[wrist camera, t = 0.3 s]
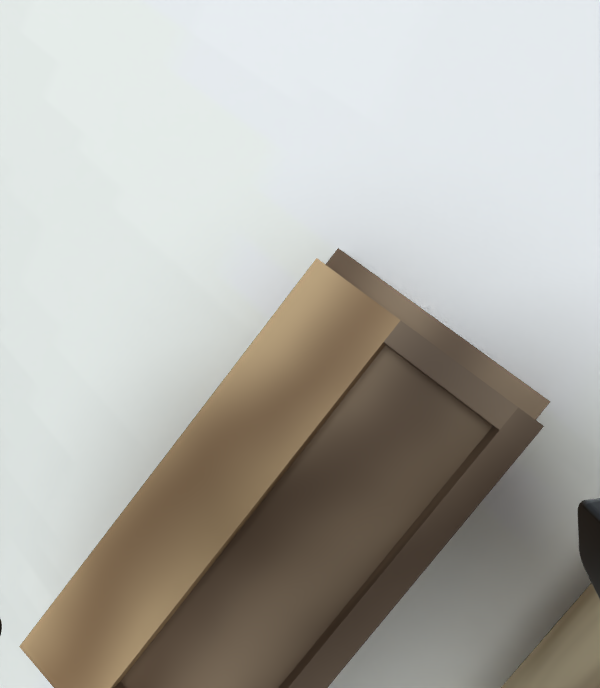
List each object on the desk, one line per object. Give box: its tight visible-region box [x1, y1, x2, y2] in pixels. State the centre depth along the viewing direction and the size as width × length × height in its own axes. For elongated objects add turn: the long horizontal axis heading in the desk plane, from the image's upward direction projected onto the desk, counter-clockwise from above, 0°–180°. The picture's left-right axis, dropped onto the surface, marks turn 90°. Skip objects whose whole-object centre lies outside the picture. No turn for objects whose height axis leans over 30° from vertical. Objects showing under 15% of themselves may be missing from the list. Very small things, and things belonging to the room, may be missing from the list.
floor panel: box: [19, 248, 550, 688], centre depth 19 cm, size 10×22×2 cm, turn 141°
